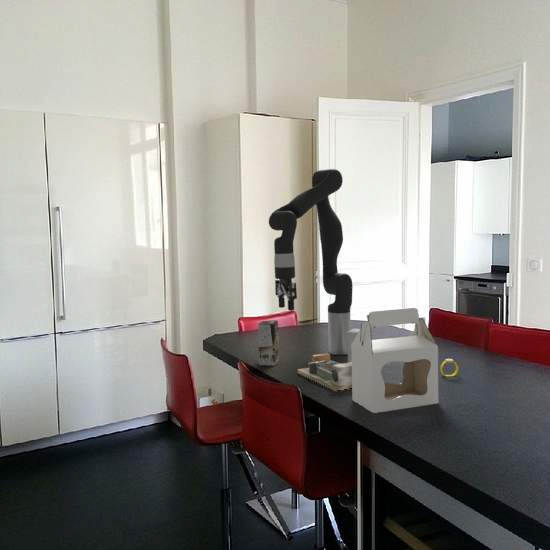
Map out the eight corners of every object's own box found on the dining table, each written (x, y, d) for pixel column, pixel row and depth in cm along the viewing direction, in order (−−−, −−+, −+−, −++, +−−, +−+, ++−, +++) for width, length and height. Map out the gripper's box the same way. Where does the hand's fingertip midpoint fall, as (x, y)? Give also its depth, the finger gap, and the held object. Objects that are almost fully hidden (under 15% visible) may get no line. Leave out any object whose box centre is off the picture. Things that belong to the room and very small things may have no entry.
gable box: (414, 391, 182) (413, 304, 180) (439, 403, 170) (438, 309, 167) (351, 400, 175) (349, 309, 173) (372, 413, 163) (370, 316, 160)
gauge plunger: (328, 366, 209) (327, 353, 209) (336, 370, 204) (335, 356, 204) (303, 370, 205) (302, 356, 205) (310, 374, 200) (310, 359, 200)
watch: (442, 378, 197) (441, 361, 197) (439, 376, 200) (438, 359, 199) (459, 376, 198) (458, 359, 197) (456, 374, 200) (455, 357, 200)
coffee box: (275, 365, 220) (273, 324, 219) (258, 365, 222) (257, 324, 220) (279, 360, 229) (278, 320, 228) (263, 359, 230) (262, 320, 229)
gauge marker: (314, 372, 201) (314, 362, 201) (316, 373, 200) (315, 362, 200) (309, 373, 200) (308, 363, 200) (310, 373, 199) (310, 363, 199)
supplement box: (371, 361, 223) (370, 329, 222) (366, 365, 216) (365, 332, 215) (353, 359, 226) (352, 328, 225) (347, 364, 219) (346, 331, 218)
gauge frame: (333, 367, 214) (333, 348, 214) (373, 385, 191) (373, 362, 190) (297, 373, 208) (297, 353, 208) (334, 391, 185) (333, 368, 184)
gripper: (302, 266, 207) (303, 310, 209) (286, 263, 220) (287, 305, 222) (283, 267, 204) (284, 312, 206) (267, 265, 217) (269, 307, 219)
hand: (286, 308), depth 214 cm, fingers open, 8 cm apart
